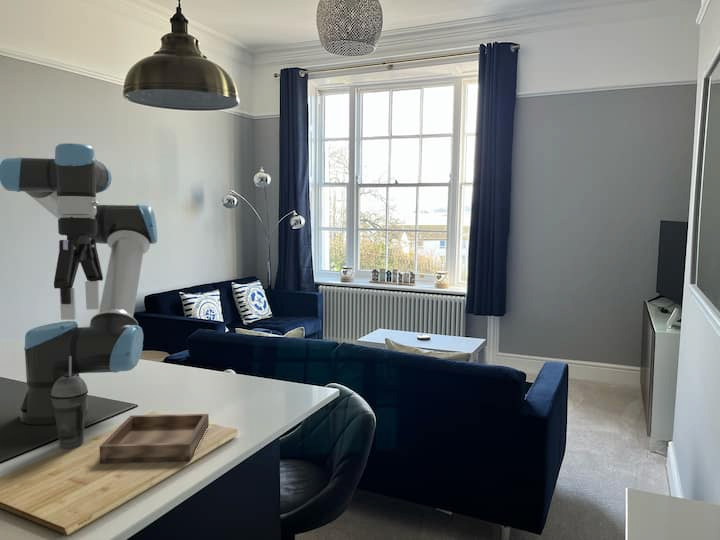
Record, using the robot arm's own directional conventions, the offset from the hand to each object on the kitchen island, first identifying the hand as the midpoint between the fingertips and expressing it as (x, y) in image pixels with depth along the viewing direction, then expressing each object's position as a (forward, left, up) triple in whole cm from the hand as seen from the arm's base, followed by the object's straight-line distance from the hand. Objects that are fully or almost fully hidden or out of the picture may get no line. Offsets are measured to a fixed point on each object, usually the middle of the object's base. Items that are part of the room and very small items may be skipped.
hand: (81, 314), depth 120 cm
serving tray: (+17, -3, -29) cm, 33 cm away
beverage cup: (-2, -2, -29) cm, 29 cm away
